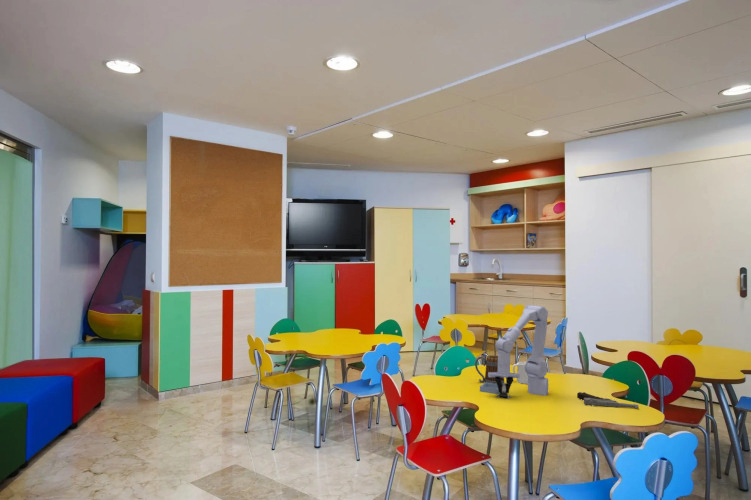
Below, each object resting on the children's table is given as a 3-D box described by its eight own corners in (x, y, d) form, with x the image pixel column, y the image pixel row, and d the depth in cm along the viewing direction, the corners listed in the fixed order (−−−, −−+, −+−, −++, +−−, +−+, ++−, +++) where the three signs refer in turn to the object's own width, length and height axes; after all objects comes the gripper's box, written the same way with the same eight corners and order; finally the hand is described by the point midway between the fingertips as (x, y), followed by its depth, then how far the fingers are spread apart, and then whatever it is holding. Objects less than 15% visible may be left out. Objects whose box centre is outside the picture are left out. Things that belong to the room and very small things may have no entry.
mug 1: (502, 382, 250) (502, 355, 250) (506, 387, 239) (506, 359, 240) (473, 381, 251) (474, 354, 252) (475, 386, 241) (476, 357, 241)
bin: (503, 392, 231) (503, 385, 231) (498, 396, 223) (498, 389, 223) (485, 389, 236) (485, 382, 236) (479, 393, 228) (479, 386, 228)
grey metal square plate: (511, 398, 220) (511, 396, 220) (508, 401, 215) (508, 399, 215) (499, 396, 223) (499, 394, 223) (495, 399, 218) (495, 396, 218)
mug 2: (533, 380, 257) (533, 362, 257) (538, 385, 247) (538, 365, 247) (510, 379, 257) (510, 361, 258) (515, 384, 247) (515, 365, 248)
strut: (506, 395, 221) (506, 382, 221) (508, 397, 217) (508, 384, 217) (498, 395, 221) (498, 382, 221) (500, 397, 217) (500, 384, 218)
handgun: (629, 402, 220) (639, 411, 206) (576, 397, 226) (582, 406, 211) (629, 395, 220) (639, 404, 206) (576, 390, 226) (582, 398, 211)
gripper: (490, 365, 216) (489, 394, 216) (521, 366, 215) (521, 395, 215) (487, 362, 223) (487, 390, 223) (517, 363, 222) (517, 391, 222)
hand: (503, 392), depth 219 cm, fingers closed on strut, 3 cm apart
